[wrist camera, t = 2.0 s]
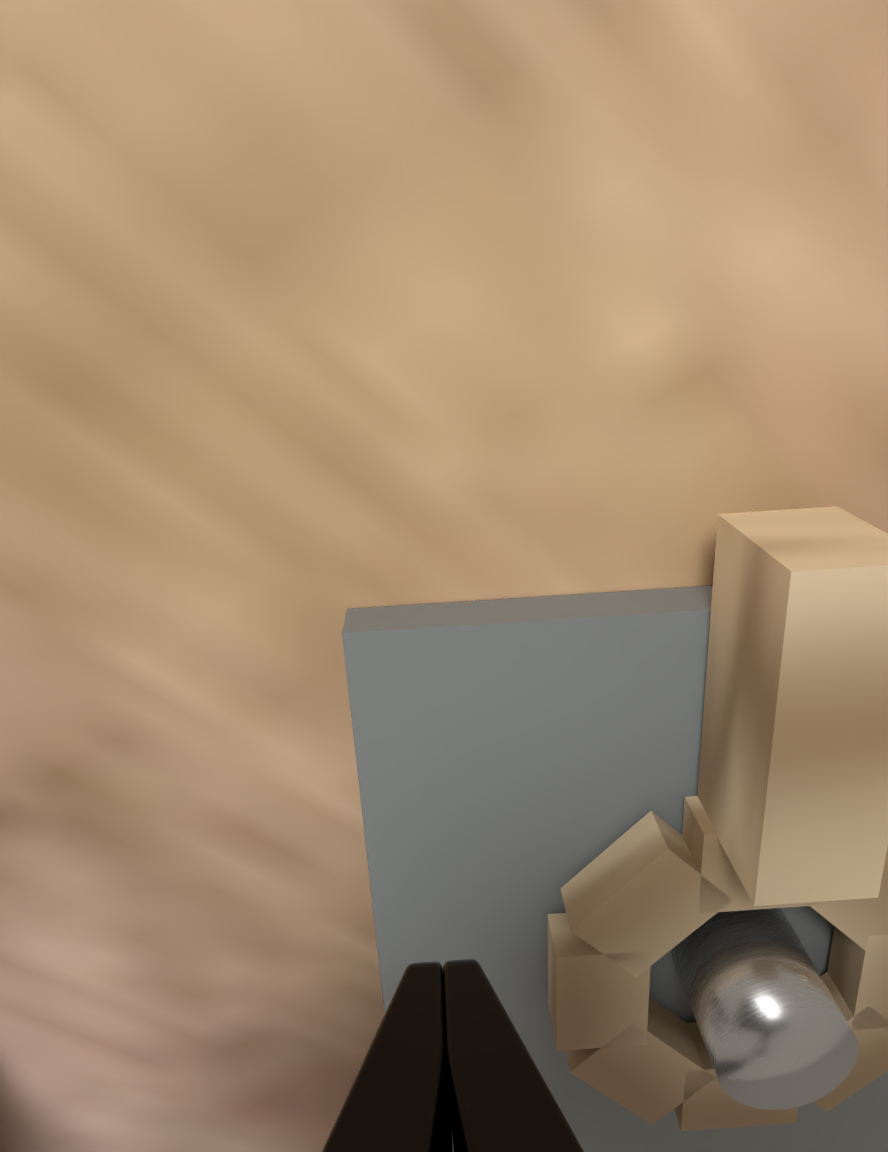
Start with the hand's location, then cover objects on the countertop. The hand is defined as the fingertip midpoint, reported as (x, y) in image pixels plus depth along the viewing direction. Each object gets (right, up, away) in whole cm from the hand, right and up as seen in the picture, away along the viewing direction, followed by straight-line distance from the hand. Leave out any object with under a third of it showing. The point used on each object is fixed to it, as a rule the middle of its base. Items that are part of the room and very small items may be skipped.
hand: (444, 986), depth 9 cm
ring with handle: (+6, -1, +8) cm, 10 cm away
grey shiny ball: (+7, -4, +9) cm, 12 cm away
